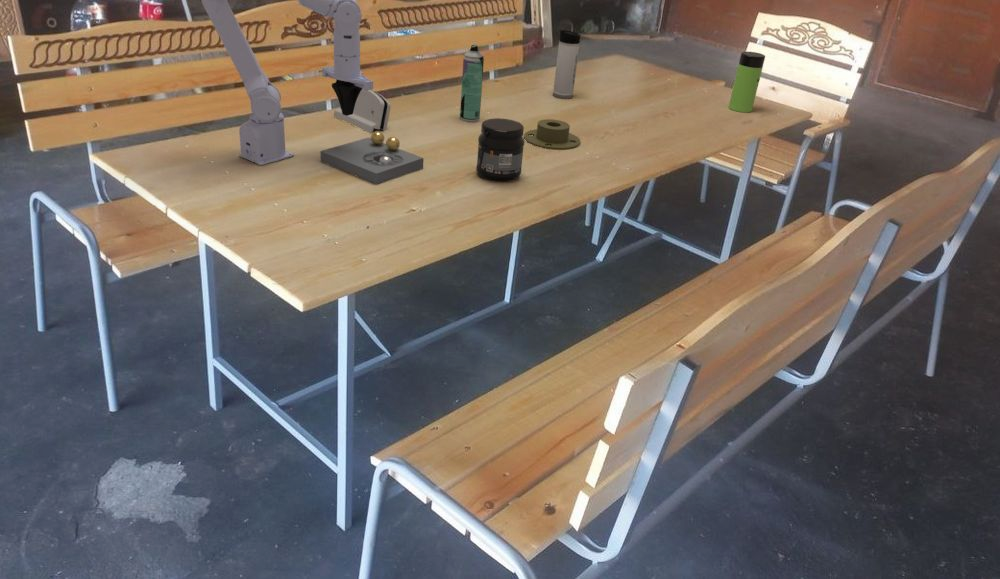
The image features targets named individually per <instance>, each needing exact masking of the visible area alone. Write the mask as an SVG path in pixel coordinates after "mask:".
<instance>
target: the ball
mask: <svg viewBox="0 0 1000 579" xmlns="http://www.w3.org/2000/svg"><path fill="white" fill-rule="evenodd" d="M390 161H392V159H391V158H390V157H389V156H382V157H381V158H380V159H379V162H390Z"/></svg>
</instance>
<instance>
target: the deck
mask: <svg viewBox="0 0 1000 579" xmlns="http://www.w3.org/2000/svg"><path fill="white" fill-rule="evenodd" d="M319 154H320V162H321V161H322V162H321V163H323V162H324V163H323V164H326V165H328V164H329V166H331V167H333V168H336V169H338V170H341V171H343V172H345V173H348V174H351V175H353V176H355V175H356V177H357V176H358V177H357V178H359V179H363V180H365V181H368V182H370V183H373V184H375V185H379V184H381V183H384V182H387V181H390V180H393V179H396V178H399V177H402V176H405V175H408V174H410V173H413V172H416V171H419V170H421V169H423V168H424V157H422V156H420V155H418V154H417V155H416V154H414V153H411V152H409V151H405V150H403V149H400V148H398V149H397V150H395V151H391V150H389V149H388V148H387V147H386V142H383V143H382V144H380V145H375V144H373V143H372V141H371V137H364V138H362V139H359V140H354V141H352V142H347V143H344V144H340V145H337V146H333V147H330V148H327V149H322V150H320V152H319ZM382 156H389V157H390V158H391V159H392V161H390V162H379V159H380V158H381V157H382Z"/></svg>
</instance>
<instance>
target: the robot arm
mask: <svg viewBox="0 0 1000 579" xmlns="http://www.w3.org/2000/svg"><path fill="white" fill-rule="evenodd" d="M297 1H298V4H299V5H301V6H303V7H305V8H306V9H308V10H311V11H313V12H315V13H317V14H319V15H321V16H323V17H326V18H333V22H334V27H333V28H334V31H333V32H332V33H333V67H331V66H324V67H322V68H321V73H322V74H321V75H322V77H324V78H331V79H334V80H336V81H335V82H332V83H331V88H332V89H333V91H334V92H335V95H336V97H337V100H338V103H339V106H340V107H341V110H342V114H343V115H346V116H348V115H352V114H353V111H354V107H355V103H356V100H357V98H358V95H359V93H360V92H361V90H362V89H363V88H364V90H366V91H368V90H374V80H373V79H371V78H370V79H369V78H368V77H366V76H365V75H363V73H364V72H362V71H361V33H360V27H361V26H360V23H361V20H362V16H363V15H362V12H361V8H360V6H359V4H358V2H357V0H297ZM201 4H202V7H203V8H204V10H205V12H206V14H207V15H208V17H209V19H210V21H211V24H212V25H213V27H214V29H215V31H216V32H217V35H218V36H219V38H220V40H221V42H222V44H223V46H224V47H225V50H226V52H227V53H228V55H229V57H230V60H231V61H232V63H233V65H234V67H235V69H236V72H238V75H239V76H240V78H241V80H242V82H243V84H244V89H245V91H246V94H247V96H248V98H249V100H250V111H251V113H250V115H249V117H250V118H249V119H248V120H247V121H244V122H243V123H241V124H240V126H239V142H240V153H239V154H238V155H239V157H241V158H243V159H245V160H248V161H250V162H252V163H254V162H255V163H254V164H257V165H258V166H259V165H260V166H262V165H264V166H265V165H266V164H270V163H274V162H277V161H281V160H284V159H289V158H293V157H294V156H295V153H293V152H290V151H288V150H286V135H285V120H284V119H285V118H284V114H283V113H282V112H281V111H282V106H281V100H282V99H281V96H282V95H281V92H280V90H279V89H278V87H276V86H275V85H274V84H273V83H271V82H270V80H269V78H268V76H267V75H266V73H265V72H264V70H263V69H262V67H261V65H260V63H259V61H258V59H257V57H256V54H255V52H254V51H253V50H252V48H251V45H250V43H249V41H248V39H247V37H246V36H245V34H244V31H243V30H242V28H241V25H240V24H239V22H238V20H237V18H236V15H235V14H234V12H233V10H232V8H231V7H230V6H231V5H230V4H229V2H228V0H201Z"/></svg>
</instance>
